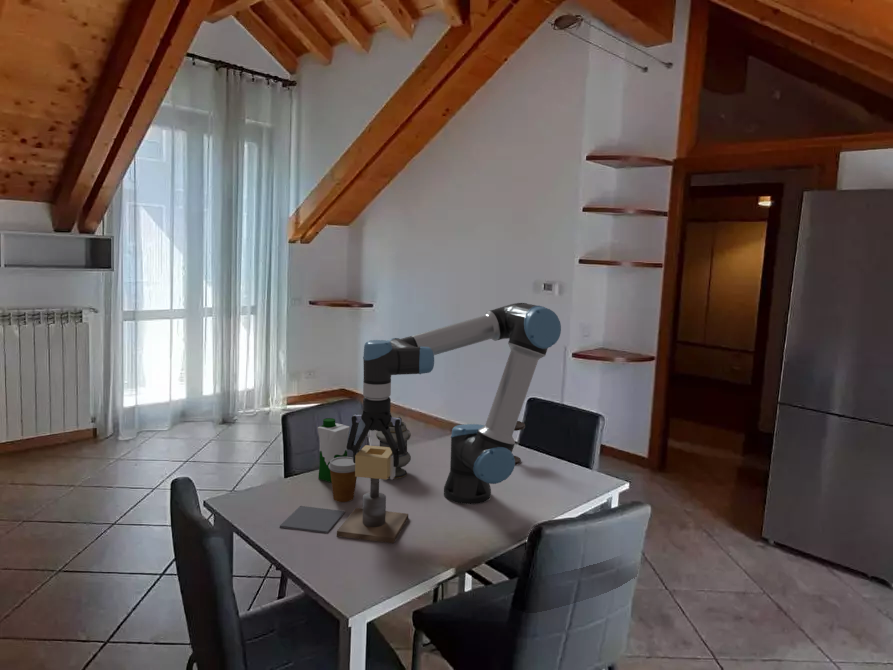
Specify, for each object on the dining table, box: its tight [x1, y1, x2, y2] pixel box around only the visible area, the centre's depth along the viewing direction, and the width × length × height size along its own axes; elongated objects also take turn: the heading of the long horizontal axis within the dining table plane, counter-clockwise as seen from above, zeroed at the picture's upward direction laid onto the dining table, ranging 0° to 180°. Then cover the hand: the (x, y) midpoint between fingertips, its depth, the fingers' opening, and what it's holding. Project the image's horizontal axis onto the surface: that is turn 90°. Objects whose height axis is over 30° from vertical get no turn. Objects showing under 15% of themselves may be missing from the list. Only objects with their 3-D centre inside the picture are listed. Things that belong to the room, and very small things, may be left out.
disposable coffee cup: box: [329, 456, 358, 503], centre depth 197 cm, size 10×10×12 cm
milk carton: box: [317, 417, 351, 484], centre depth 213 cm, size 9×9×20 cm
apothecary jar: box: [375, 421, 412, 480], centre depth 220 cm, size 12×12×18 cm
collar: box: [355, 444, 396, 481], centre depth 176 cm, size 9×9×6 cm
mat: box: [279, 505, 346, 534], centre depth 182 cm, size 14×14×1 cm
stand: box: [336, 478, 409, 544], centre depth 178 cm, size 16×16×18 cm
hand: (375, 475), depth 177 cm, fingers closed on collar, 9 cm apart
